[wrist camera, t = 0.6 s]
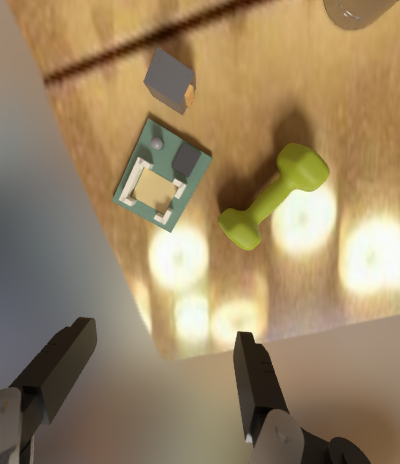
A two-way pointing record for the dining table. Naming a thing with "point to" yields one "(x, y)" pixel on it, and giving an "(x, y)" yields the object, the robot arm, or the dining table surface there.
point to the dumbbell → (275, 193)
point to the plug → (170, 81)
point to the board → (161, 176)
